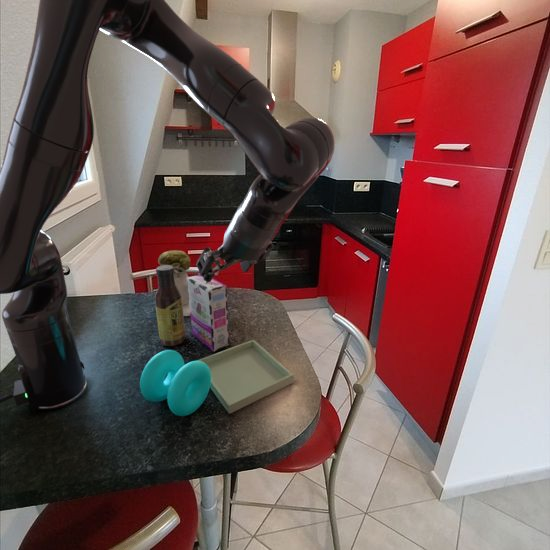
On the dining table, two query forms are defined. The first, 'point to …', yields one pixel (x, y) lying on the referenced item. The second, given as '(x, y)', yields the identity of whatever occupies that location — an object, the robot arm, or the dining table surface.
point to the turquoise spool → (176, 382)
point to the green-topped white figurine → (178, 274)
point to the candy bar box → (208, 312)
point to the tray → (245, 375)
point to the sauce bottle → (169, 308)
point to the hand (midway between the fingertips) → (225, 273)
